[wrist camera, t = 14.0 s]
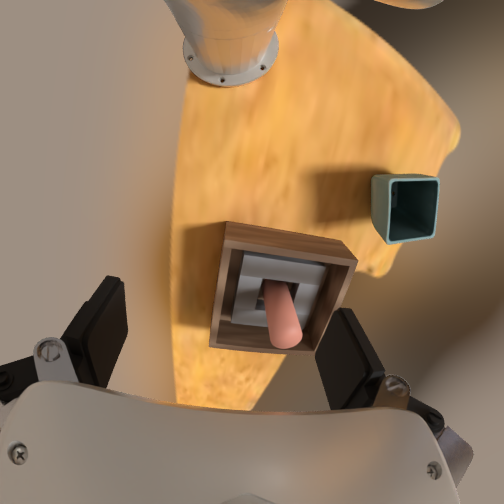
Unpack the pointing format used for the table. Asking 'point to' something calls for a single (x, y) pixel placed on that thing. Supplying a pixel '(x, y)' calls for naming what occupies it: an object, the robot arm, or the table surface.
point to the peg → (280, 314)
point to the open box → (283, 269)
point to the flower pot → (404, 206)
